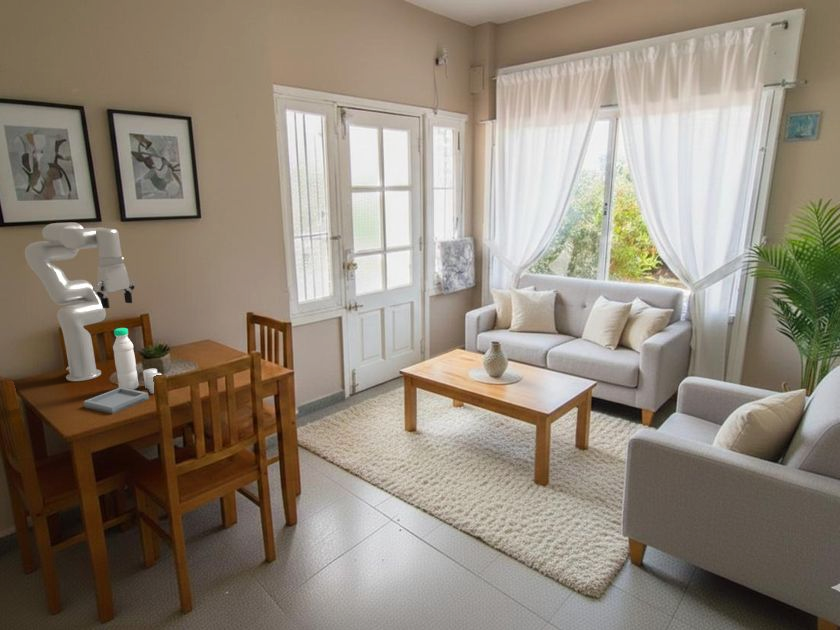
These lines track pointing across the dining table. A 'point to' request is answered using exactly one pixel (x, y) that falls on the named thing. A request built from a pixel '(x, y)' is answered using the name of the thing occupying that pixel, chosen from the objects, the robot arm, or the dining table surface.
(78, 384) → the dining table surface
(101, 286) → the robot arm
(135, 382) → the water bottle
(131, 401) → the tray
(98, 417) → the dining table surface
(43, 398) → the dining table surface
